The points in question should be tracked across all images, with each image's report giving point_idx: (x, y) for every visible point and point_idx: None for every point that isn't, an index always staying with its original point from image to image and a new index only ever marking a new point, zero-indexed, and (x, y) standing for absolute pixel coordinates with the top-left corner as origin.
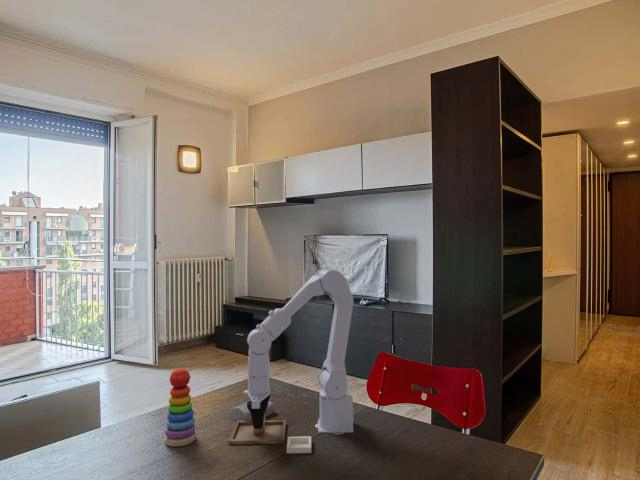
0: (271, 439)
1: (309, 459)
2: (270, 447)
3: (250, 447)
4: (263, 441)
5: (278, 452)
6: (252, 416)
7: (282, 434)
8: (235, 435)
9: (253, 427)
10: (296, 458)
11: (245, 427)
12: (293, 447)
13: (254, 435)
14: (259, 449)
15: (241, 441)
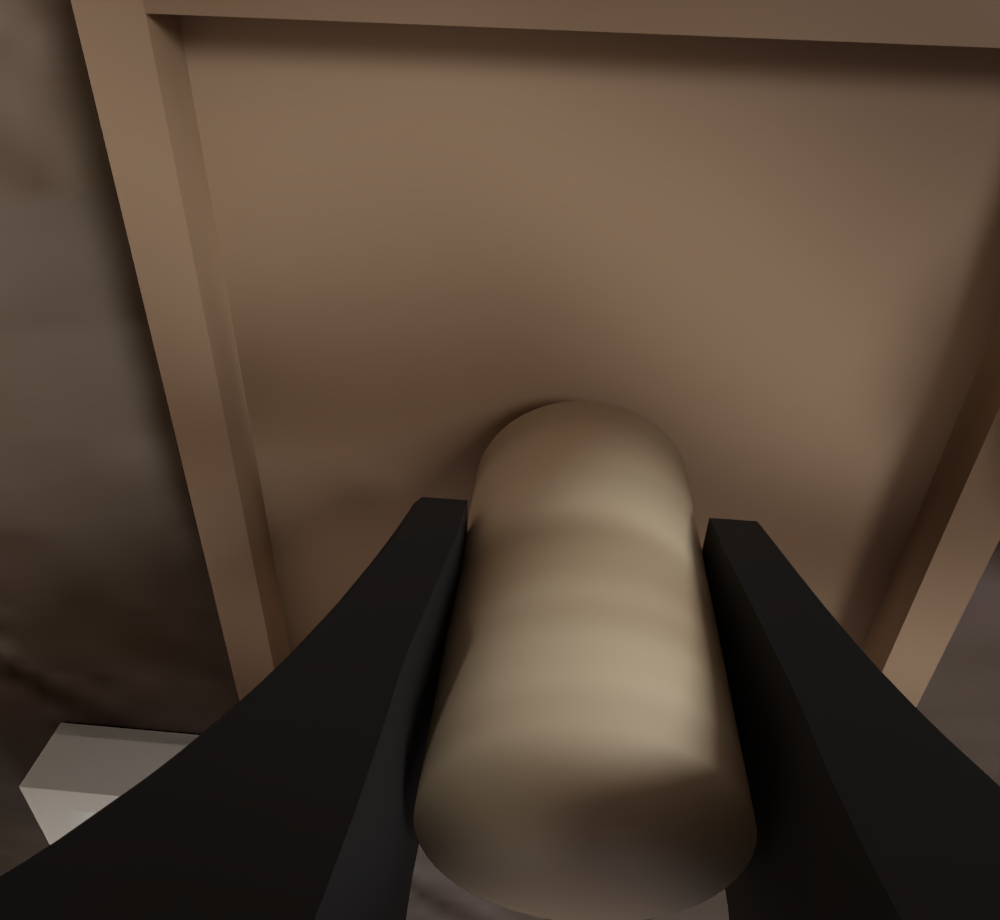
0: (248, 656)
1: (31, 846)
2: (187, 594)
3: (134, 358)
4: (216, 557)
5: (86, 661)
6: (260, 698)
7: None
8: (516, 32)
9: (529, 468)
10: (14, 777)
11: (891, 226)
12: (47, 832)
13: (494, 413)
14: (104, 478)
15: (132, 230)
